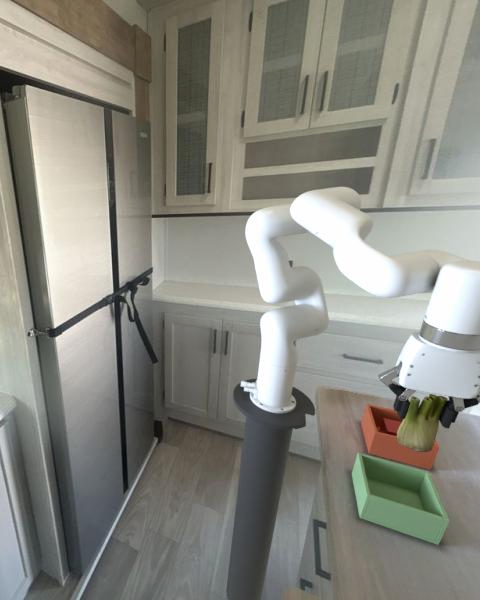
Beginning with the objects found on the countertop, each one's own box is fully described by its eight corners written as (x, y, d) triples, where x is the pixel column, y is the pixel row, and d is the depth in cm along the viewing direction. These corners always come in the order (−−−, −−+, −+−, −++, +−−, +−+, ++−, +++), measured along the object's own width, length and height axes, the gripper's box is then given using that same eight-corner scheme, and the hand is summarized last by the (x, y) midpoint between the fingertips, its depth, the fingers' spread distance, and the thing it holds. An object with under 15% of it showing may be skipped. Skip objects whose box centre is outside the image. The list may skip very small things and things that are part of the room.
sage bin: (359, 517, 68) (367, 495, 66) (351, 473, 77) (357, 452, 75) (438, 545, 62) (450, 521, 60) (419, 494, 72) (429, 471, 69)
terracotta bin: (368, 453, 82) (374, 432, 79) (360, 423, 91) (366, 403, 88) (430, 470, 76) (439, 448, 74) (416, 436, 85) (424, 415, 83)
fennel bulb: (394, 448, 64) (412, 399, 60) (389, 431, 68) (405, 384, 64) (436, 459, 61) (458, 408, 57) (428, 441, 65) (448, 392, 61)
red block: (382, 446, 83) (387, 430, 81) (378, 432, 86) (383, 417, 85) (409, 453, 80) (415, 437, 78) (404, 438, 84) (409, 423, 82)
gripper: (516, 332, 54) (477, 418, 61) (380, 318, 63) (359, 395, 70) (544, 355, 48) (497, 447, 55) (390, 336, 57) (366, 418, 64)
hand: (421, 417), depth 62 cm, fingers closed on fennel bulb, 5 cm apart
